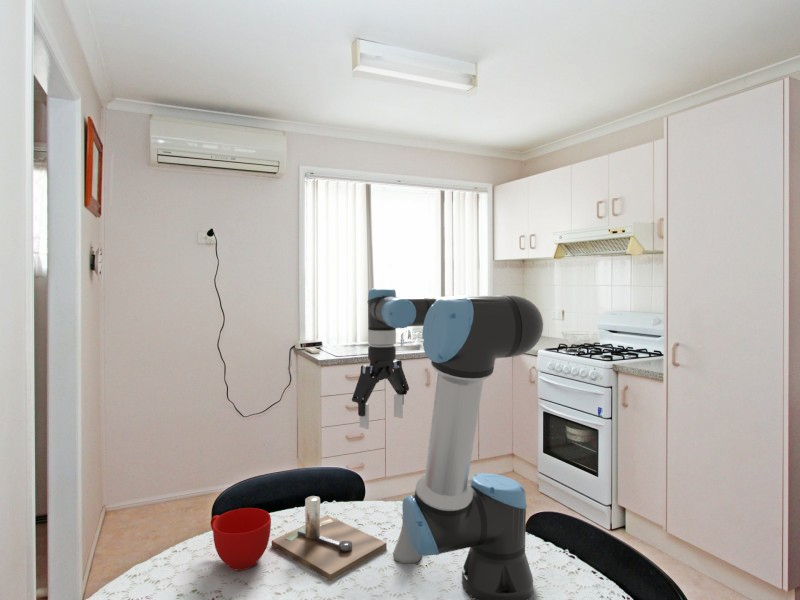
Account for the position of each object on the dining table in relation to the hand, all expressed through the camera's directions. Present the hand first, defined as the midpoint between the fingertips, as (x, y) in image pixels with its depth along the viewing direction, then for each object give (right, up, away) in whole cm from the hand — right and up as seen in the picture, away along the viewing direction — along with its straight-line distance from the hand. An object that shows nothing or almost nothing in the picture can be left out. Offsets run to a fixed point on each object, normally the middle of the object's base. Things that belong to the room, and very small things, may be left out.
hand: (381, 422), depth 142 cm
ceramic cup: (-33, -28, -20) cm, 48 cm away
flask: (+7, -28, -18) cm, 34 cm away
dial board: (-12, -27, -14) cm, 33 cm away
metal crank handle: (-14, -26, -15) cm, 33 cm away
